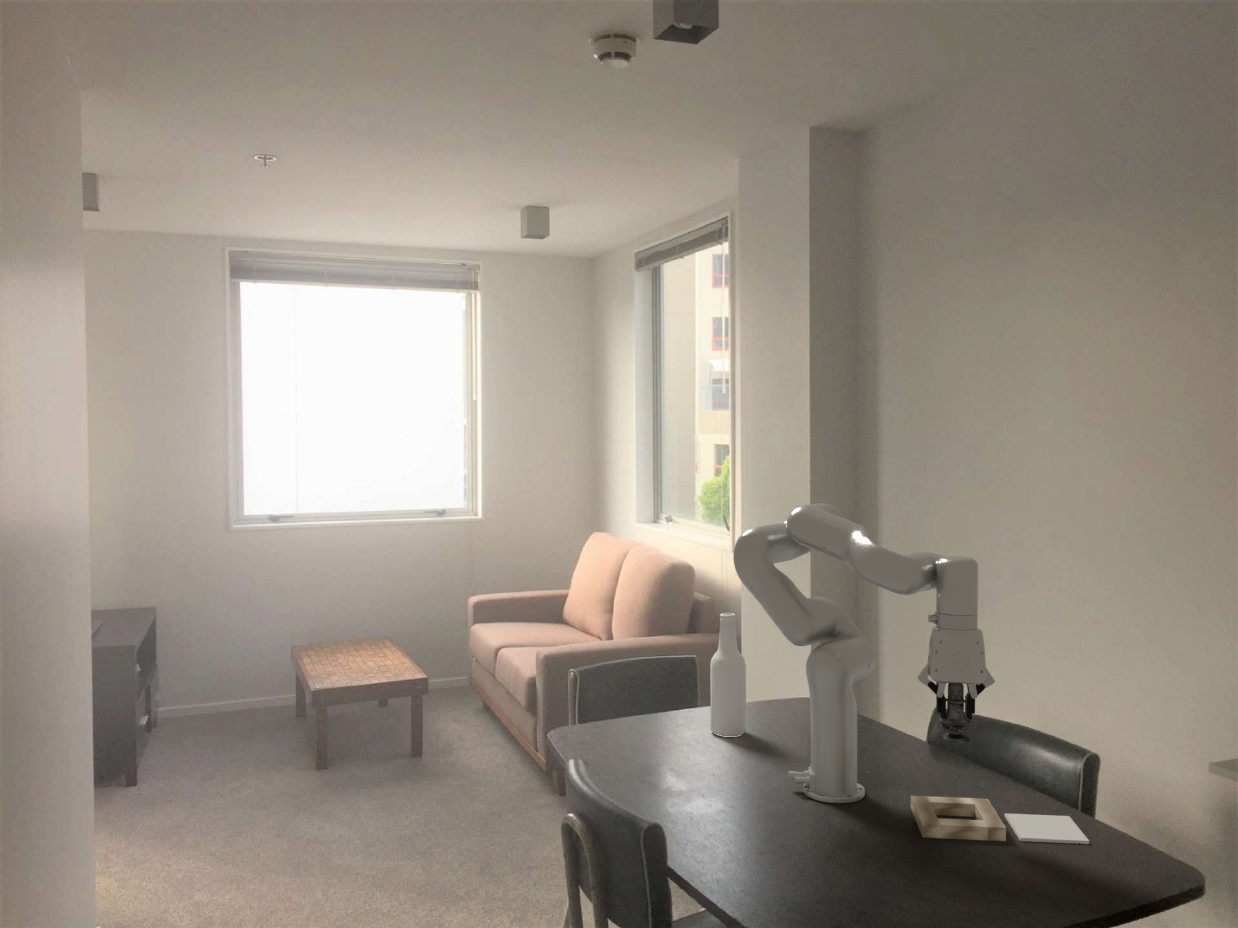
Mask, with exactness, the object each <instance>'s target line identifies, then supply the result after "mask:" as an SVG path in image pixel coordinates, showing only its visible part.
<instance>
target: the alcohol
mask: <svg viewBox="0 0 1238 928" xmlns="http://www.w3.org/2000/svg"><path fill="white" fill-rule="evenodd" d="M719 617H720V618H719V621H720V622H719V623H720V624H719V633H718V634H719V637H718V647H717V651H715V653H714V654H713V656H712V657H711V659H710V664H709V665H710V667H709V668H710V669H709V674H710V677H709V678H710V680H709V681H710V682H709V684H710V690H709V691H710V731H711V732H713V733H715V734H719V735H722V736H738V735H742V734H745V733H746V731H747V666H746V665H747V664H746V661H745V658H744V656H743V654H742V653H741V652H740V651H739V648H738V638H737V625H736V624H737V623H736V621H737V620H736V617H737V615H736V614H735V613H734V612H722V613H720V614H719ZM713 733H712V734H713ZM742 736H743V735H742Z"/></svg>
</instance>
